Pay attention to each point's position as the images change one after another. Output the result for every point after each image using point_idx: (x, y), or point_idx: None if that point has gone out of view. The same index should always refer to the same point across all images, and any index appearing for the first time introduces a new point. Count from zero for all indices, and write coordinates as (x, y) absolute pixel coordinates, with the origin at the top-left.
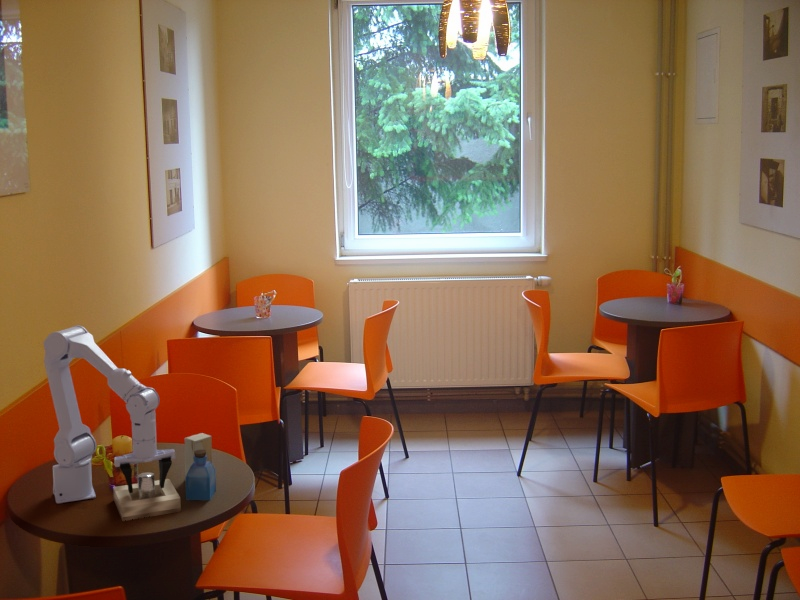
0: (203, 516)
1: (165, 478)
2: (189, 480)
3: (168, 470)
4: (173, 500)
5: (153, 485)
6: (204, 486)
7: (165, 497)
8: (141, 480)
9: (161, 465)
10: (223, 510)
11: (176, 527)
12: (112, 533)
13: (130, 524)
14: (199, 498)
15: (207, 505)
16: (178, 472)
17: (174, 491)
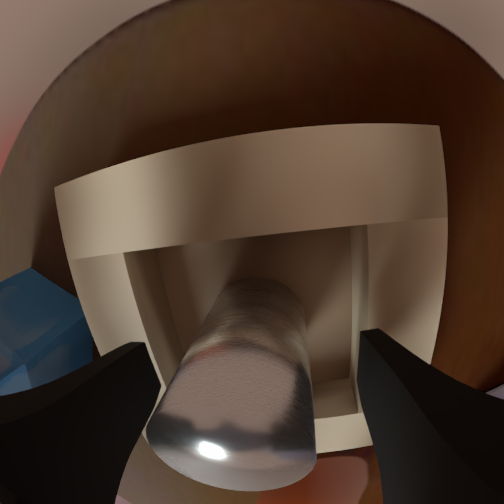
0: (44, 118)
1: (75, 370)
2: (24, 342)
3: (12, 394)
4: (87, 175)
5: (183, 359)
6: (3, 295)
7: (123, 220)
8: (285, 401)
9: (29, 464)
10: (4, 166)
11: (142, 19)
12: (425, 34)
13: (358, 83)
14: (50, 286)
15: (31, 222)
16: (164, 477)
17: (86, 300)
